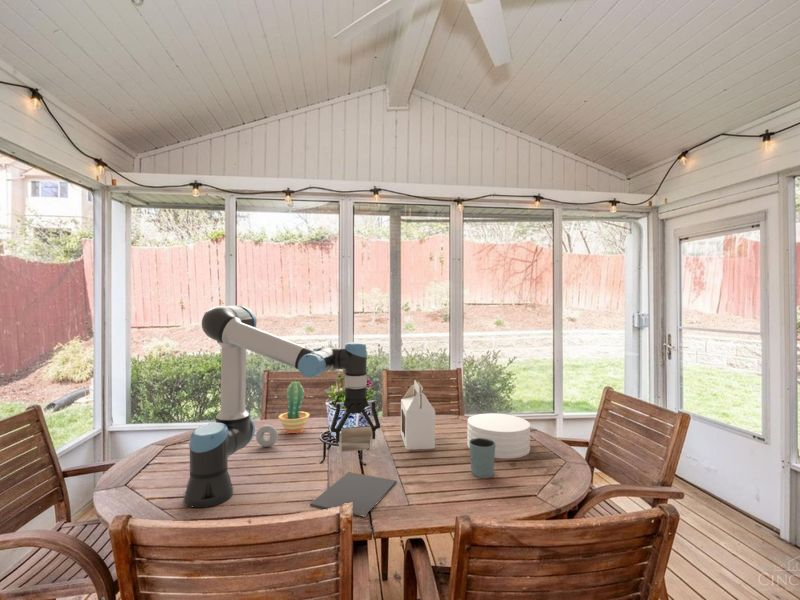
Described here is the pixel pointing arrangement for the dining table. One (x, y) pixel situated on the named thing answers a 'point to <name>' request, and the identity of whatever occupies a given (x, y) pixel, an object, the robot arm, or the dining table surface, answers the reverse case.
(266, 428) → the donut
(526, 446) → the plate stack
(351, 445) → the birch tile
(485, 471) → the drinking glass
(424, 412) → the gable box
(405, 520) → the dining table surface
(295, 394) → the potted cactus
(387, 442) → the dining table surface
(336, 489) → the rubber mat
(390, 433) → the dining table surface
